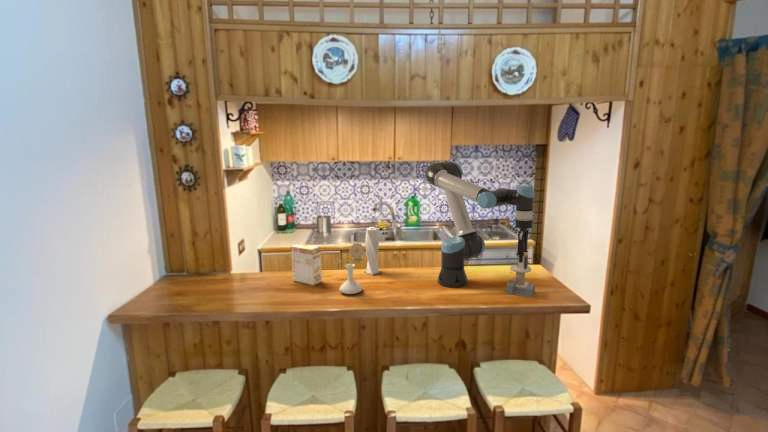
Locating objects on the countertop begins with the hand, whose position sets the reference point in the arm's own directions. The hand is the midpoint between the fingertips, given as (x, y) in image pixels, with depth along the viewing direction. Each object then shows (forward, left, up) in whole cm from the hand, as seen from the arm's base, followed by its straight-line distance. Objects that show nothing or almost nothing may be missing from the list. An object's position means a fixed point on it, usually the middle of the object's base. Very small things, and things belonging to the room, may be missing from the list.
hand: (521, 266), depth 197 cm
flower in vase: (-74, -35, -13) cm, 83 cm away
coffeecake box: (-104, -33, -13) cm, 110 cm away
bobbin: (-2, +10, -13) cm, 17 cm away
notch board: (0, 0, -13) cm, 13 cm away
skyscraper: (-79, -6, -13) cm, 80 cm away
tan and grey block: (0, 0, 0) cm, 0 cm away
